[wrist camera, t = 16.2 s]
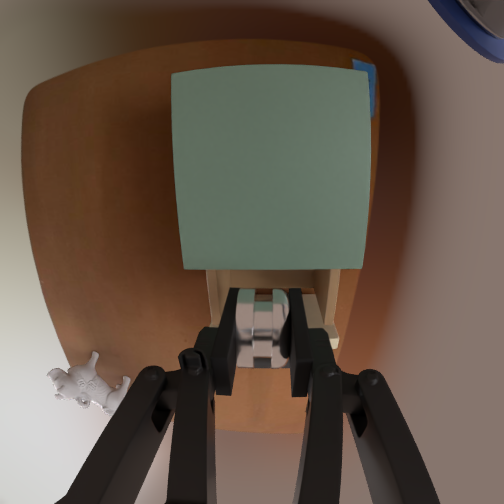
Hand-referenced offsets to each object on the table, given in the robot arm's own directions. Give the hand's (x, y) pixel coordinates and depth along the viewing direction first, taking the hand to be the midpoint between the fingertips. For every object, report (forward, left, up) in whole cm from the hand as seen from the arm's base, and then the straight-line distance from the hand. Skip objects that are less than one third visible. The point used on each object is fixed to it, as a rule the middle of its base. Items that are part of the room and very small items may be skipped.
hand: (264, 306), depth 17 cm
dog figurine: (+27, +21, -12) cm, 37 cm away
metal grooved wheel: (0, +1, -1) cm, 1 cm away
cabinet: (-1, -9, -11) cm, 14 cm away
